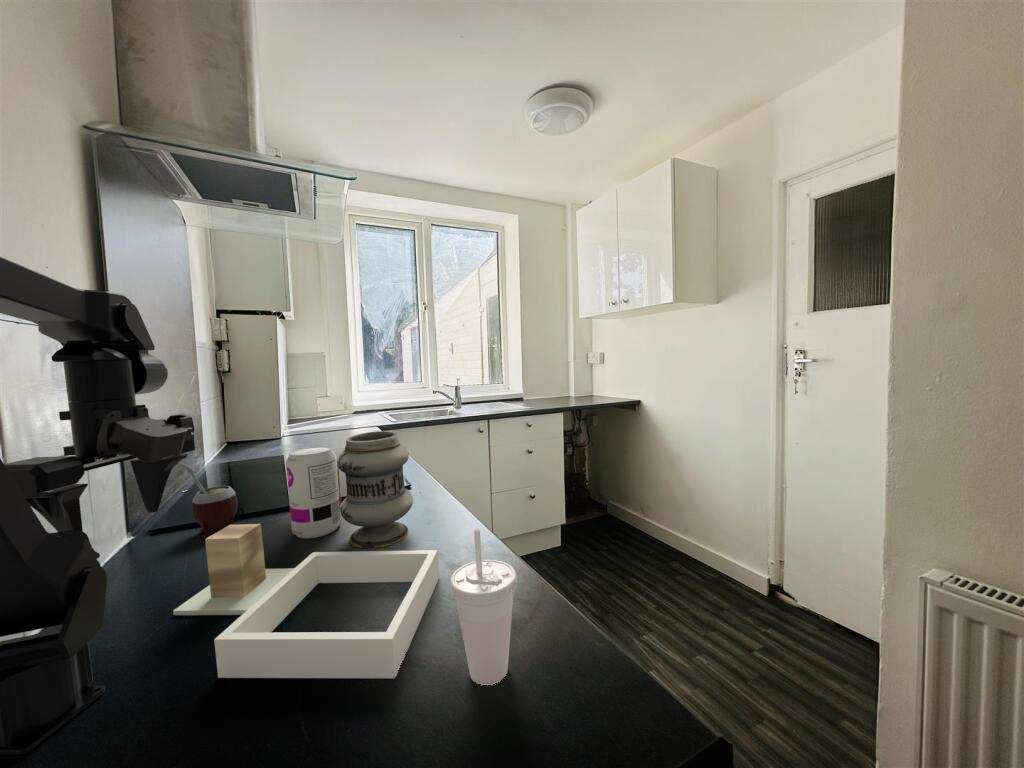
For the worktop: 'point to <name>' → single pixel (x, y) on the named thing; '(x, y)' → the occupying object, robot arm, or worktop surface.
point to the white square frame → (329, 654)
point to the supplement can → (313, 491)
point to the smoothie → (485, 614)
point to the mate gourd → (213, 506)
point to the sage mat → (232, 605)
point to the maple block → (235, 560)
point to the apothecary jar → (375, 488)
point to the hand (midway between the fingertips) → (117, 526)
